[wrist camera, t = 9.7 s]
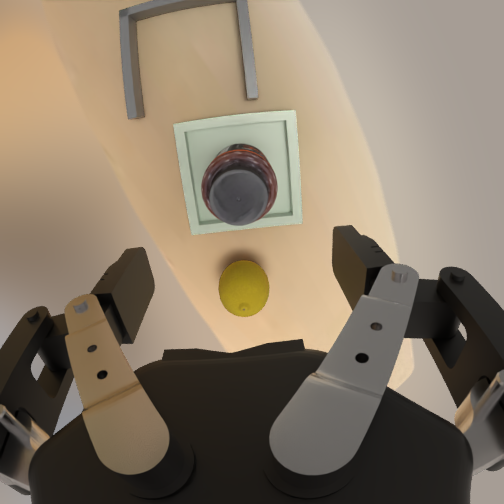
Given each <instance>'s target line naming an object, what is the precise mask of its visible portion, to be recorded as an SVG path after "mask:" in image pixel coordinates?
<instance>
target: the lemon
mask: <svg viewBox="0 0 504 504" xmlns="http://www.w3.org/2000/svg"><path fill="white" fill-rule="evenodd" d="M219 295H220V299H221V301H222V303H223V305H224V307H225V308H226V309H227V310H228V311H229V312H230V313H232V314H234V315H236V316H240V317H248V316H252V315H254V314H257V313H258V312H259V311H260V310H262V308H263V307H264V306H265V304H266V302H267V299H268V296H269V282H268V278H267V275H266V274H265V272H264V270H263V269H262V268H261V267H260V266H259V265H257V264H256V263H254V262H251V261H246V260H241V261H237V262H234V263H232V264H231V265H229V266H228V267H227V268H226V269H225V270H224V271H223V273H222V275H221V278H220V281H219Z"/></svg>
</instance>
